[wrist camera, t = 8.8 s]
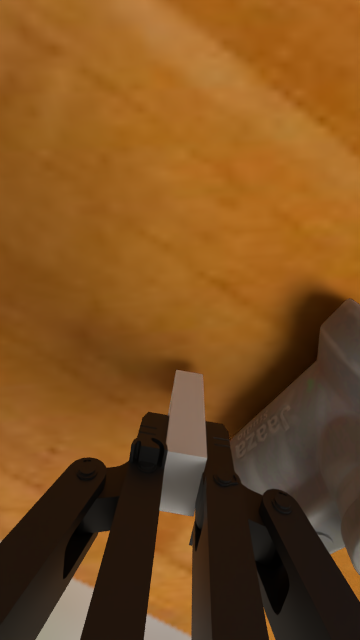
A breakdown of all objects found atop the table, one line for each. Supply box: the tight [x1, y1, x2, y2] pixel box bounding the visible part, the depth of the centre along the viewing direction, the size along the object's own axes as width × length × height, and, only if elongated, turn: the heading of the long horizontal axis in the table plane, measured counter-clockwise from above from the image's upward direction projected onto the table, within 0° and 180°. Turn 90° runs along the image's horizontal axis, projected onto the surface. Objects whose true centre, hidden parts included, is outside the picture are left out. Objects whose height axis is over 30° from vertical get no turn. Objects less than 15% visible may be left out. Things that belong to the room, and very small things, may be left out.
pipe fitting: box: [230, 298, 360, 575], centre depth 15 cm, size 12×8×10 cm
